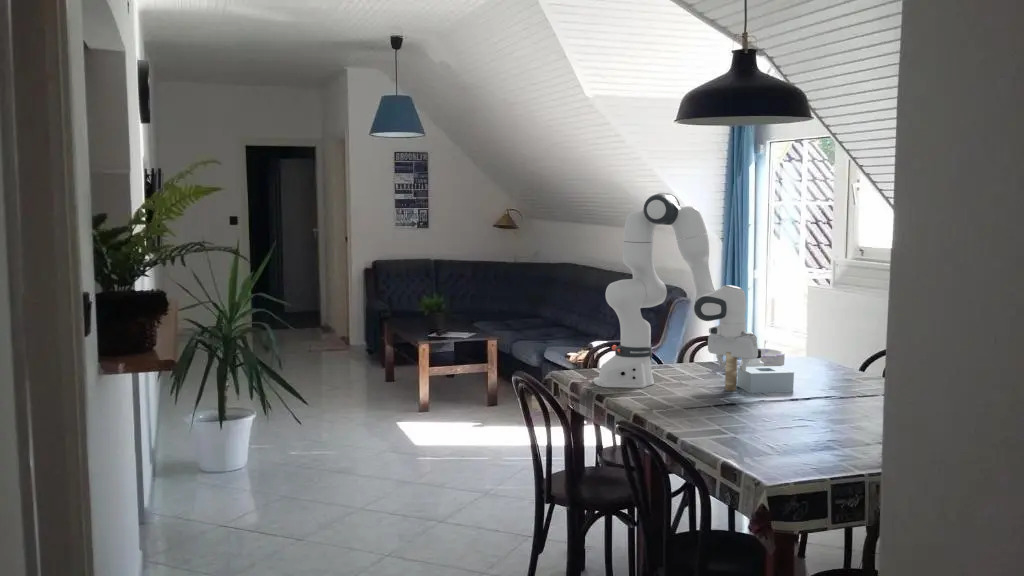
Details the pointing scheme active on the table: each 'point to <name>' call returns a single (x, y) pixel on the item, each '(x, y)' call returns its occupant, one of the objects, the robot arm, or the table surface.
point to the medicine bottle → (755, 361)
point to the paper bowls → (772, 357)
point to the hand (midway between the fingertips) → (732, 368)
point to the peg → (730, 372)
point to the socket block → (766, 379)
